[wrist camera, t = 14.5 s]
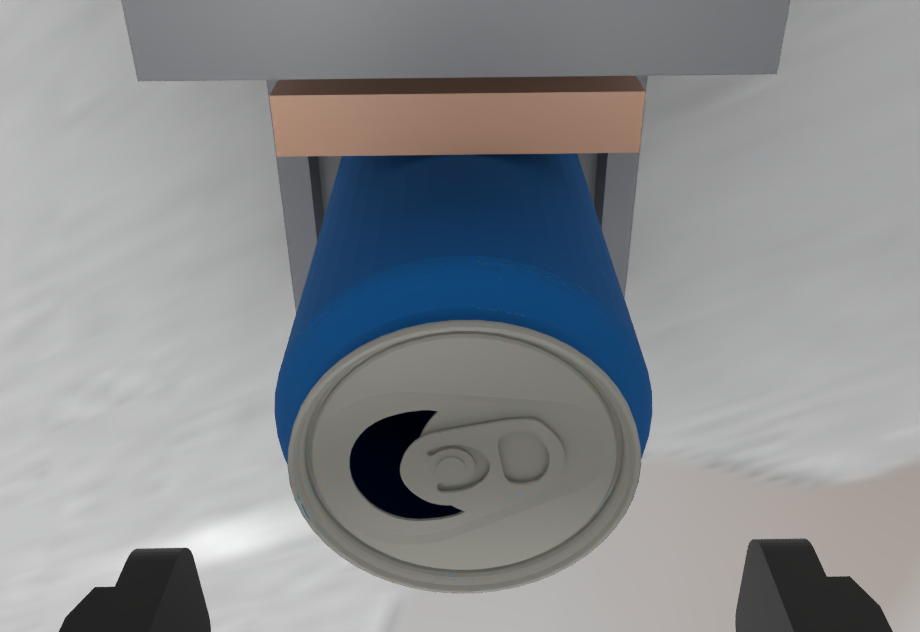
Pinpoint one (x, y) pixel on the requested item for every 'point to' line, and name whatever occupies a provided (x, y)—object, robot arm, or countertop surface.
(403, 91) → the thin tan plate
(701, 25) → the grey bracket
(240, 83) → the countertop surface
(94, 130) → the countertop surface
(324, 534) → the beverage can
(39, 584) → the countertop surface
